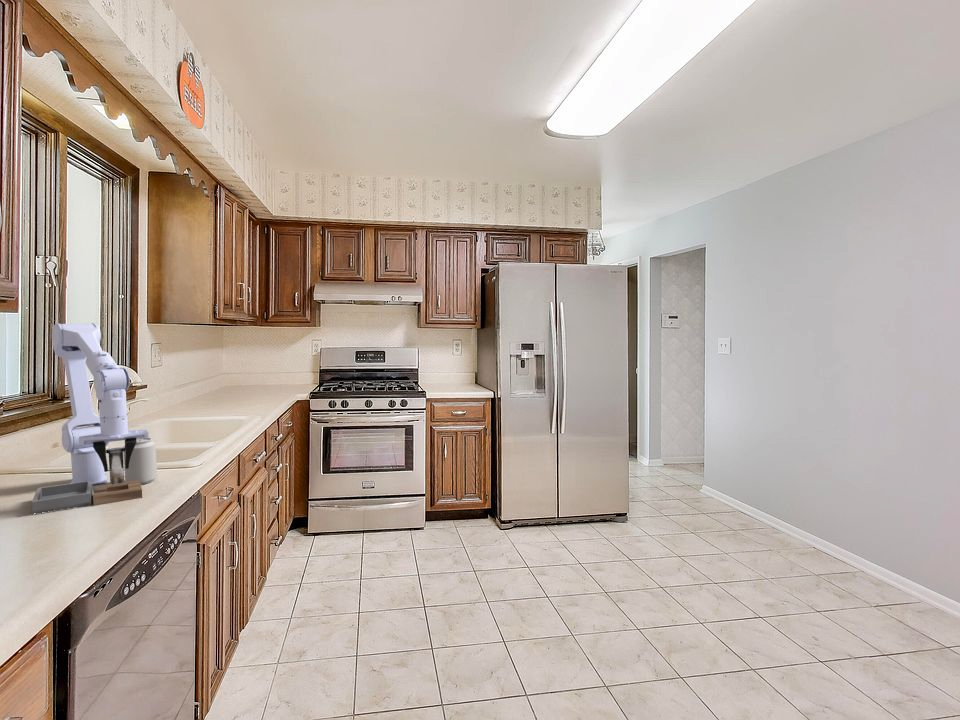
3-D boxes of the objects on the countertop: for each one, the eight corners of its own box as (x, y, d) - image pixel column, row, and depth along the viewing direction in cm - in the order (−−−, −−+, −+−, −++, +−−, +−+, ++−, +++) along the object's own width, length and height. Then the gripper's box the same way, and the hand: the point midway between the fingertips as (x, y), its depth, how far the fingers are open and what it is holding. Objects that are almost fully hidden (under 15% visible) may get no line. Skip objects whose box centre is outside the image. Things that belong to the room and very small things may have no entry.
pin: (107, 481, 137) (105, 448, 137) (126, 479, 140) (124, 446, 139) (107, 485, 134) (105, 452, 133) (127, 483, 136) (125, 449, 136)
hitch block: (94, 494, 138) (94, 486, 138) (140, 487, 144) (140, 480, 144) (93, 505, 130) (93, 497, 130) (142, 497, 136) (141, 489, 136)
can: (121, 487, 145) (118, 443, 144) (131, 479, 152) (128, 437, 151) (152, 484, 147) (150, 441, 146) (160, 476, 154) (158, 435, 153)
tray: (38, 499, 135) (37, 487, 135) (92, 491, 141) (91, 480, 141) (32, 514, 124) (31, 502, 124) (91, 505, 130) (90, 493, 130)
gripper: (77, 422, 128) (80, 477, 129) (148, 415, 136) (151, 468, 137) (78, 417, 134) (81, 471, 135) (146, 411, 142) (149, 462, 143)
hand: (116, 469), depth 137 cm, fingers closed on pin, 4 cm apart
